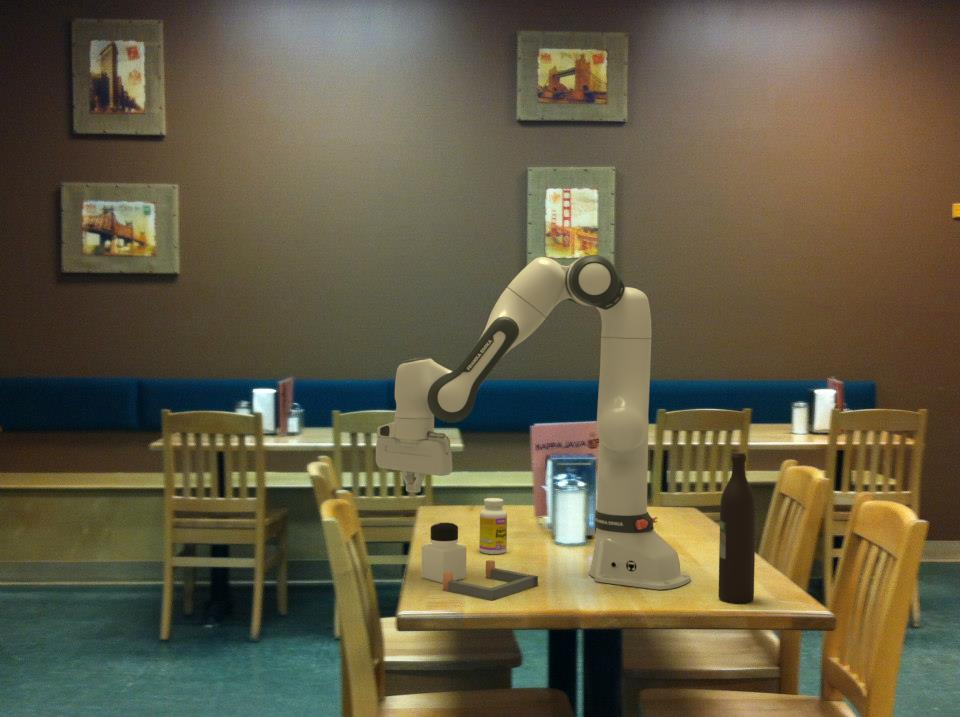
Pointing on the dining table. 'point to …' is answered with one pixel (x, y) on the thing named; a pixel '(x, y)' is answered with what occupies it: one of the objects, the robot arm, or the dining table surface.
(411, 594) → the dining table surface
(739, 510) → the wine bottle
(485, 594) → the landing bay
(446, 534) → the medicine bottle
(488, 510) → the supplement bottle
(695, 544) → the dining table surface
